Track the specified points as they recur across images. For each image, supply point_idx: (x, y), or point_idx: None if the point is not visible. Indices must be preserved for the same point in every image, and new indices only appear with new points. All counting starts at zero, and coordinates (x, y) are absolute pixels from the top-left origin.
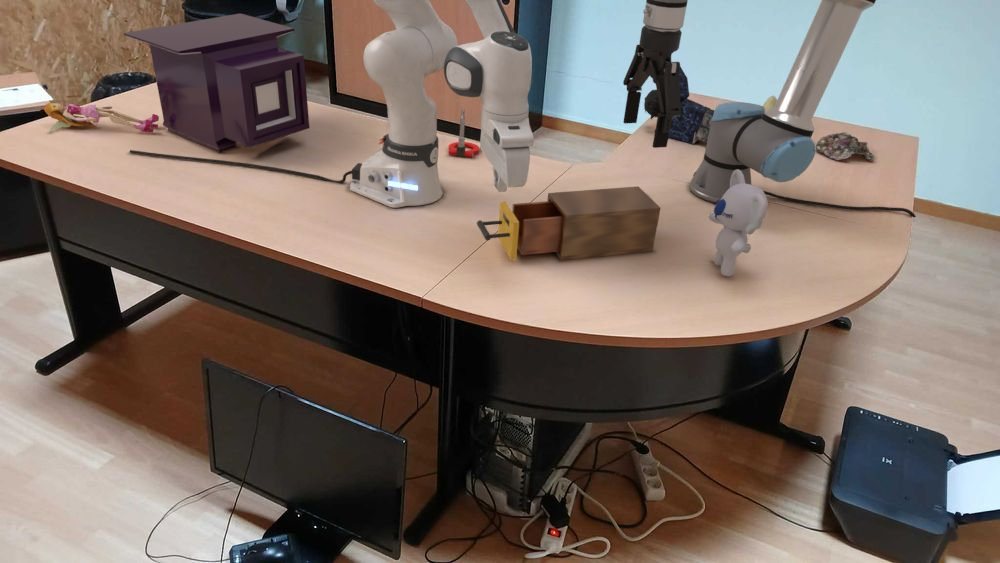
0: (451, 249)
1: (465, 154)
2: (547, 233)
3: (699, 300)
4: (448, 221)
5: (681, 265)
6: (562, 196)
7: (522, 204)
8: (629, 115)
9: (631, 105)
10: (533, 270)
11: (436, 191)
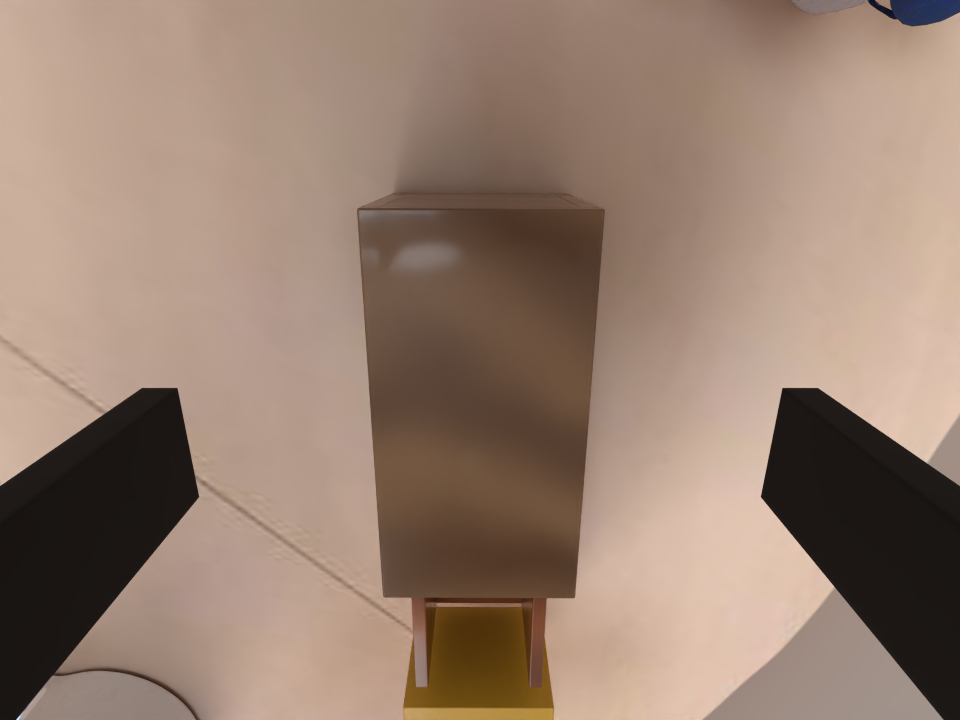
0: None
1: None
2: None
3: (891, 187)
4: (292, 685)
5: (684, 132)
6: (421, 562)
7: (426, 665)
8: (151, 513)
9: (75, 588)
10: (582, 570)
11: (147, 712)
